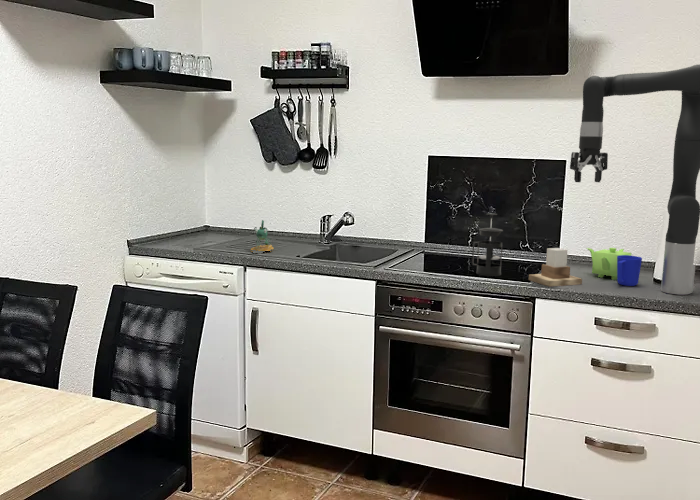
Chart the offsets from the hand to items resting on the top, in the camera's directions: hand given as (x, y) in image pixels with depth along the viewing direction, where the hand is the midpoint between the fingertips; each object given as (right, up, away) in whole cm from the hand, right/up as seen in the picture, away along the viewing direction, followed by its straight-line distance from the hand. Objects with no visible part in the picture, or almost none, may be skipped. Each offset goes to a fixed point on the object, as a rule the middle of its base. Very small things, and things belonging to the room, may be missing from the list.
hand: (587, 182), depth 244 cm
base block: (-10, -33, +6) cm, 35 cm away
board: (-10, -35, +6) cm, 37 cm away
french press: (-31, -33, +20) cm, 50 cm away
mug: (+14, -37, +3) cm, 39 cm away
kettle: (+15, -34, +18) cm, 41 cm away
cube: (-9, -29, +6) cm, 31 cm away
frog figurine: (-121, -25, +62) cm, 139 cm away
